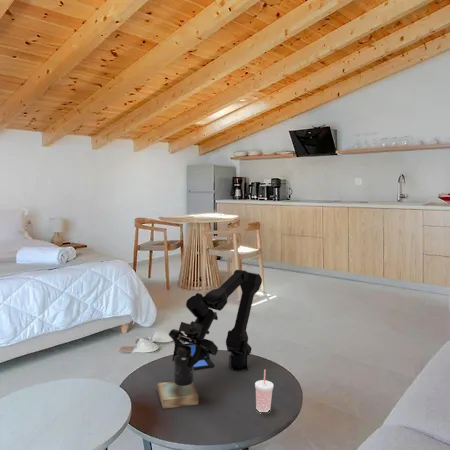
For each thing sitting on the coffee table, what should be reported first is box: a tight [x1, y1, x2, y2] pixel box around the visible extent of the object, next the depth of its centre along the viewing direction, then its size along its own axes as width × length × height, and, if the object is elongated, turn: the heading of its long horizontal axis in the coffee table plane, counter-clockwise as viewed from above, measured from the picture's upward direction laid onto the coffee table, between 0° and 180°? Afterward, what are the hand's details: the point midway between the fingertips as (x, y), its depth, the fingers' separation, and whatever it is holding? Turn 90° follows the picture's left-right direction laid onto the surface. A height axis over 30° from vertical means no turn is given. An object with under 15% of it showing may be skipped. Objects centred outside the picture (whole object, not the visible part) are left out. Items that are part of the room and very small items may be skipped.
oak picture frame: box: [157, 380, 199, 410], centre depth 143 cm, size 12×12×3 cm
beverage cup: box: [254, 369, 274, 412], centre depth 136 cm, size 6×6×14 cm
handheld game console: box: [184, 342, 215, 371], centre depth 170 cm, size 12×11×7 cm
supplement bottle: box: [173, 346, 195, 386], centre depth 141 cm, size 7×7×12 cm
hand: (181, 364), depth 140 cm, fingers closed on supplement bottle, 7 cm apart
